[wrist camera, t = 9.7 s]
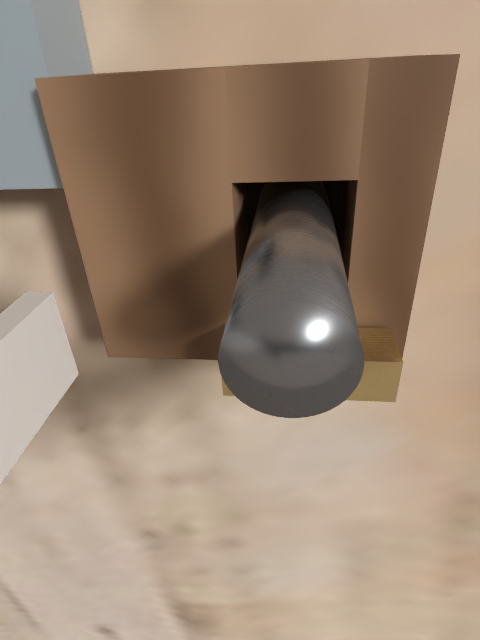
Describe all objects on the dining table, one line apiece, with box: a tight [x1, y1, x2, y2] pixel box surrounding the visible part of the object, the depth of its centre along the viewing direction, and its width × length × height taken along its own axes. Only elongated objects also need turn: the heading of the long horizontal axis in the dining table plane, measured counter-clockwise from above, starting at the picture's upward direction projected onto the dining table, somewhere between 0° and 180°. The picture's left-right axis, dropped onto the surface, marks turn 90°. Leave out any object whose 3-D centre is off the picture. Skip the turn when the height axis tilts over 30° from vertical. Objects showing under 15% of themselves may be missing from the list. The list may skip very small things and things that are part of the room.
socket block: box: [34, 54, 460, 360], centre depth 19 cm, size 14×12×5 cm
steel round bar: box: [218, 181, 364, 418], centre depth 15 cm, size 3×3×13 cm
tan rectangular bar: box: [222, 327, 403, 402], centre depth 18 cm, size 7×2×2 cm, turn 93°
